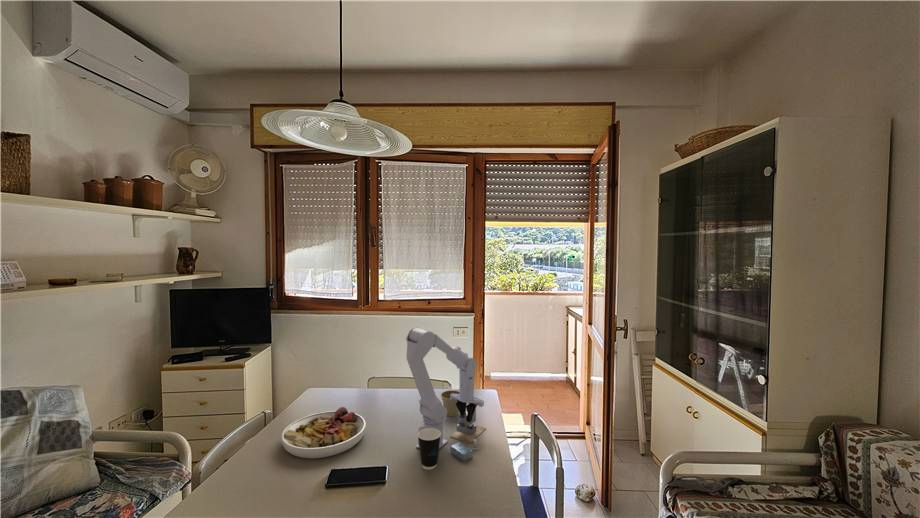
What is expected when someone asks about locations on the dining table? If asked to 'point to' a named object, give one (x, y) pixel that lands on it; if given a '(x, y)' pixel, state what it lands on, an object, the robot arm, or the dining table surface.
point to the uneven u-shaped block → (466, 424)
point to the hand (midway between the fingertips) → (466, 420)
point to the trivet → (468, 437)
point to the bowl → (323, 434)
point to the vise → (463, 450)
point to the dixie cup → (429, 447)
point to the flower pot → (450, 403)
